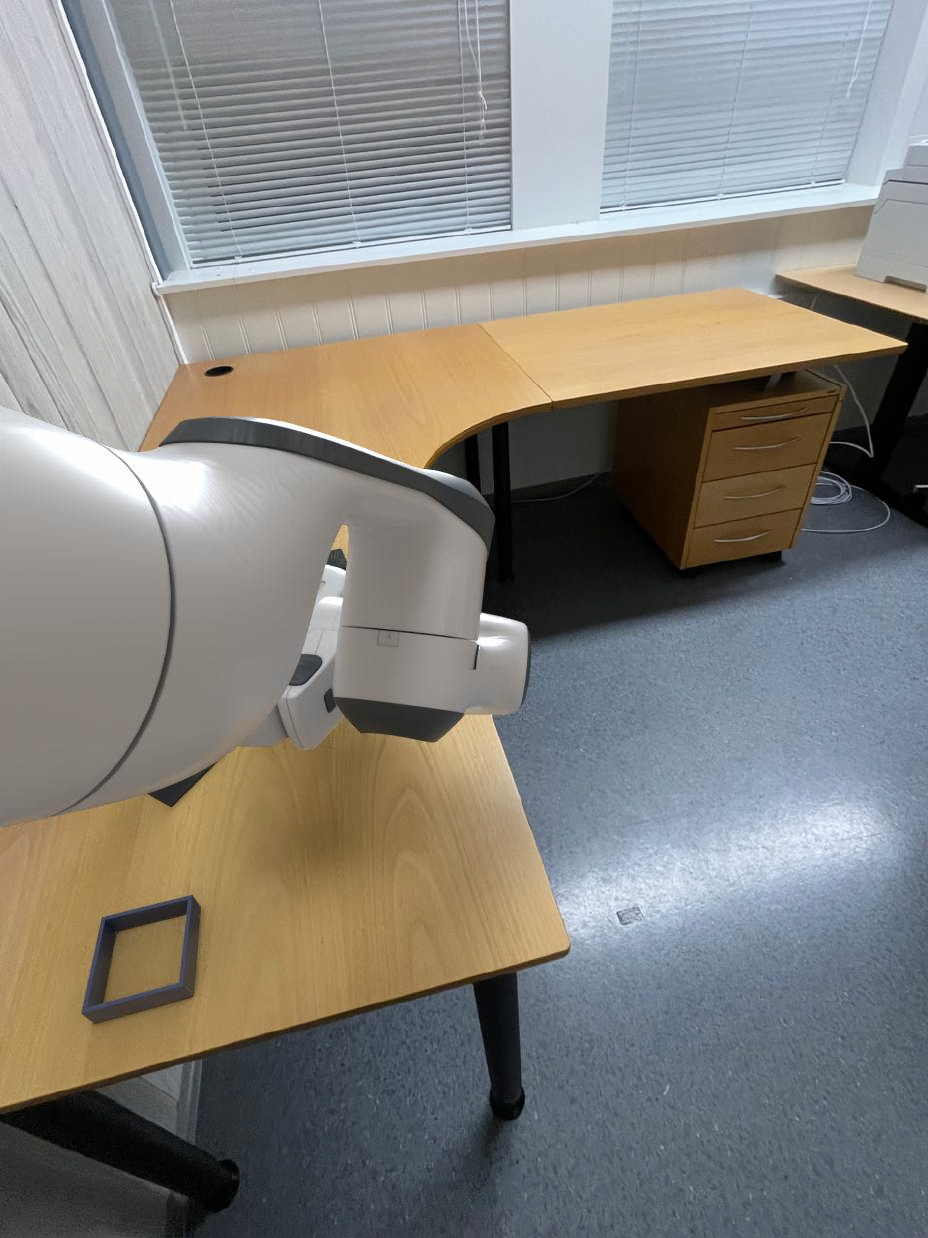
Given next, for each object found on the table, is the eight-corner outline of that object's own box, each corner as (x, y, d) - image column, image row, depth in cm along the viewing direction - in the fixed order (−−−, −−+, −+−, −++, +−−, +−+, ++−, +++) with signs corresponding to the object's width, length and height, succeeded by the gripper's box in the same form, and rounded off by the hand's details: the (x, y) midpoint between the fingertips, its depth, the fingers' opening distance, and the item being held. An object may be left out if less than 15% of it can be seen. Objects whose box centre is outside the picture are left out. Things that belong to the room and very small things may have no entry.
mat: (171, 807, 69) (170, 806, 69) (119, 778, 72) (118, 776, 72) (228, 750, 75) (227, 749, 75) (178, 725, 78) (177, 724, 78)
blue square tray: (193, 996, 54) (183, 986, 52) (94, 1024, 52) (80, 1013, 51) (201, 906, 60) (192, 894, 58) (112, 929, 59) (101, 917, 57)
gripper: (373, 551, 57) (240, 541, 60) (284, 713, 42) (110, 691, 44) (381, 602, 61) (257, 591, 64) (303, 768, 46) (143, 745, 48)
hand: (195, 633), depth 54 cm, fingers open, 8 cm apart
